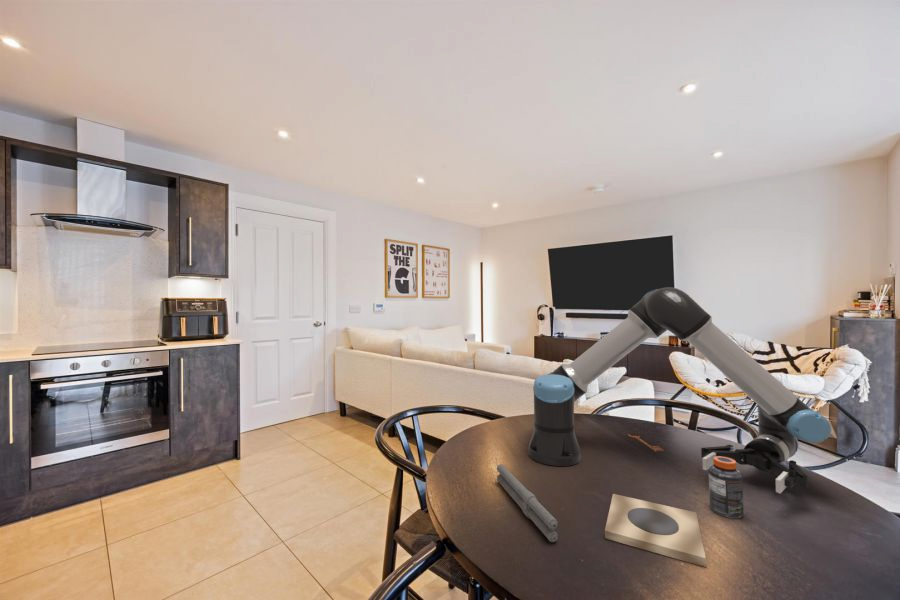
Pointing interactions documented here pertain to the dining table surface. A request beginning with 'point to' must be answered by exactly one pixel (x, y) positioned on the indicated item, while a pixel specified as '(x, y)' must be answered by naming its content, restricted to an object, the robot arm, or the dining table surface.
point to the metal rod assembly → (528, 503)
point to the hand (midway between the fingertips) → (738, 474)
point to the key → (655, 448)
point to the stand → (655, 529)
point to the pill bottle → (726, 488)
